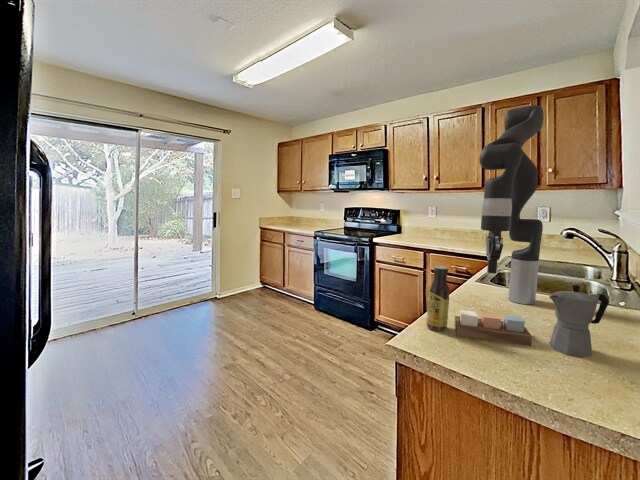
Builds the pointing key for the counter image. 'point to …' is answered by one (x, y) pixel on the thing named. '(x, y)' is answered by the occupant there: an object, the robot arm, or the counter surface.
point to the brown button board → (492, 334)
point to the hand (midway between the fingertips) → (491, 272)
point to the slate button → (513, 323)
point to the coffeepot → (575, 321)
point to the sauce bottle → (438, 300)
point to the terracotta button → (490, 321)
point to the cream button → (468, 318)
